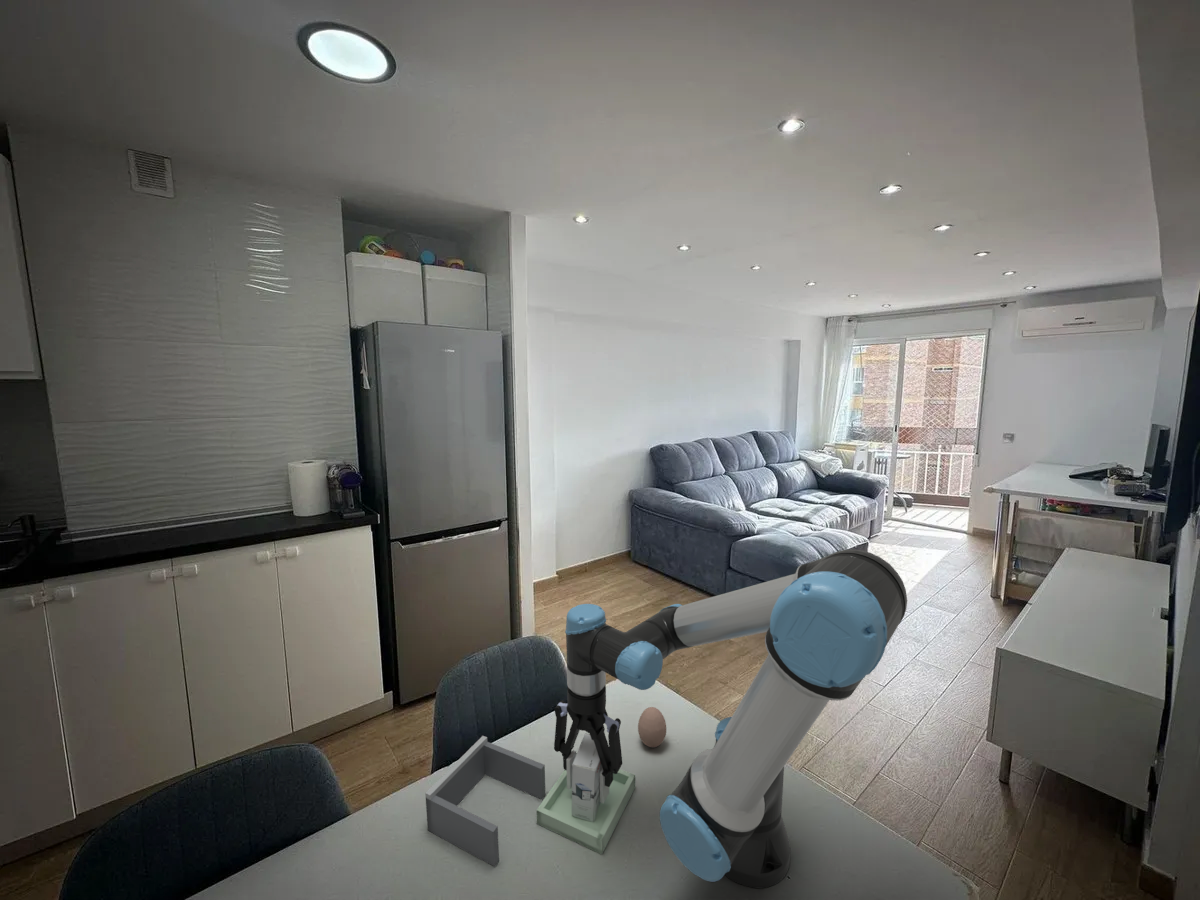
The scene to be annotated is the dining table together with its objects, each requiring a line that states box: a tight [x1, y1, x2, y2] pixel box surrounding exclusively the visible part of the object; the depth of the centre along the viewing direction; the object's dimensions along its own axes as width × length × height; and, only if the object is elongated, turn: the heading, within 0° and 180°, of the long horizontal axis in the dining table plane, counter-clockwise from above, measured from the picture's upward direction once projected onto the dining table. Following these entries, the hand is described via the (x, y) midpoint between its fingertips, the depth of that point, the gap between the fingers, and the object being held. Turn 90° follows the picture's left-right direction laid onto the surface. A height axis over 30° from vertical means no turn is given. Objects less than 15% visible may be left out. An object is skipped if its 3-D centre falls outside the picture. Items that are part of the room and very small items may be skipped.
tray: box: [535, 752, 636, 855], centre depth 96 cm, size 14×16×3 cm
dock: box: [425, 735, 546, 868], centre depth 94 cm, size 16×16×8 cm
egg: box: [637, 706, 667, 748], centre depth 111 cm, size 7×7×9 cm
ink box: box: [572, 732, 602, 822], centre depth 95 cm, size 9×5×12 cm, turn 164°
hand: (588, 790), depth 96 cm, fingers open, 7 cm apart
